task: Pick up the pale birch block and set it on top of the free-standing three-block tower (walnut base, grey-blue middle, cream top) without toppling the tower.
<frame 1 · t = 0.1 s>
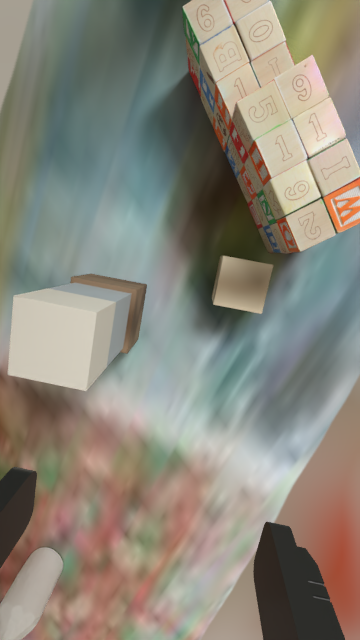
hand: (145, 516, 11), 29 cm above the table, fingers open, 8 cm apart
tower mid: (99, 315, 33), point 6 cm above the table, touching tower base, tower top
white bottle: (46, 561, 48), on the table
tower top: (77, 328, 28), point 12 cm above the table, touching tower mid
birch block: (236, 280, 38), on the table
tower base: (115, 306, 39), on the table, touching tower mid
stack of blocks: (254, 153, 35), on the table
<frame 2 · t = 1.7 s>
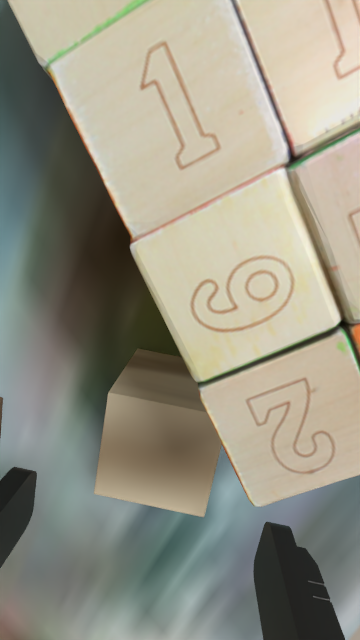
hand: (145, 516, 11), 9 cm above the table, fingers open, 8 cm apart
birch block: (171, 394, 19), on the table
stack of blocks: (193, 142, 16), on the table
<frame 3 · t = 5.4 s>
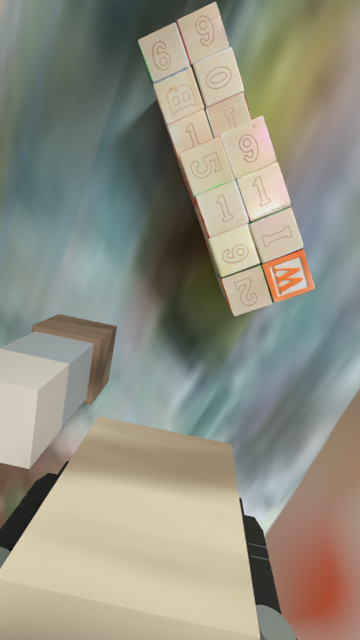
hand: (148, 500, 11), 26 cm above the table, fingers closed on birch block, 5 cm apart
tower mid: (61, 365, 32), point 6 cm above the table, touching tower base, tower top
tower top: (30, 389, 26), point 12 cm above the table, touching tower mid
birch block: (153, 487, 12), point 25 cm above the table, touching gripper
tower base: (84, 348, 38), on the table, touching tower mid
stack of blocks: (218, 192, 33), on the table
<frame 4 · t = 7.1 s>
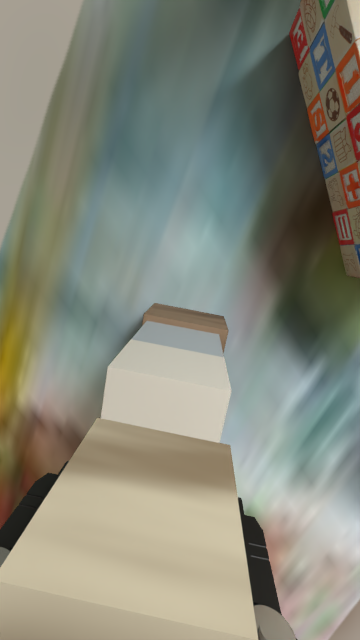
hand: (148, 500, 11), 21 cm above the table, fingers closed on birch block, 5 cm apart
tower mid: (176, 361, 26), point 6 cm above the table, touching tower base, tower top
tower top: (169, 391, 21), point 12 cm above the table, touching tower mid
birch block: (152, 488, 12), point 21 cm above the table, touching gripper
tower base: (182, 342, 32), on the table, touching tower mid
stack of blocks: (352, 151, 28), on the table
when the fingers open (19 cm above the table, at t = 8.1 s): birch block drops 1 cm, resting on tower top.
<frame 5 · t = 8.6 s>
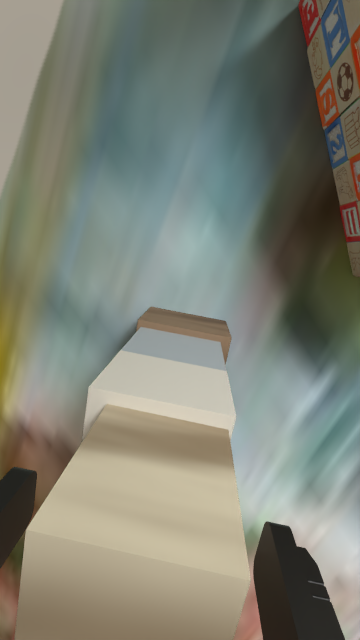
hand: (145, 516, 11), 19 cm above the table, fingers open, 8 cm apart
tower mid: (173, 372, 24), point 6 cm above the table, touching tower base, tower top
tower top: (164, 409, 18), point 12 cm above the table, touching birch block, tower mid
birch block: (156, 469, 13), point 17 cm above the table, touching tower top
tower base: (181, 349, 30), on the table, touching tower mid
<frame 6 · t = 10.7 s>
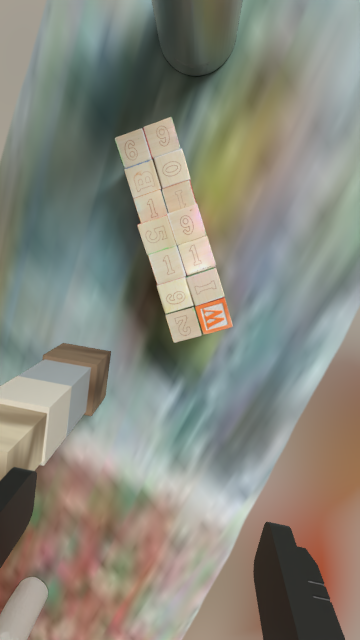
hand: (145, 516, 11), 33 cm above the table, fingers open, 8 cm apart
tower mid: (65, 385, 40), point 6 cm above the table, touching tower base
white bottle: (32, 589, 54), on the table
tower top: (42, 406, 34), point 12 cm above the table, touching birch block
birch block: (18, 432, 29), point 17 cm above the table, touching tower top
tower base: (84, 370, 46), on the table, touching tower mid
stack of blocks: (180, 239, 42), on the table
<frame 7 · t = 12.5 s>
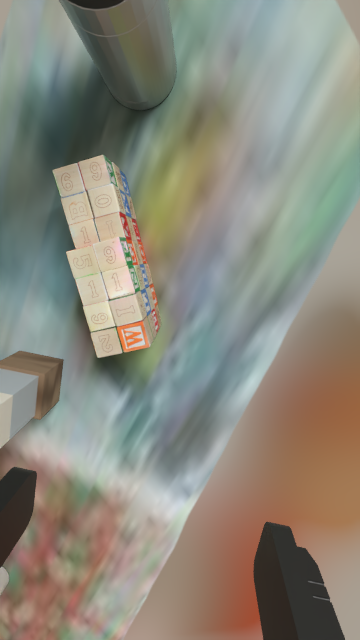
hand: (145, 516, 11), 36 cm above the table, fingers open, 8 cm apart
tower mid: (15, 391, 44), point 6 cm above the table, touching tower base, tower top
tower base: (39, 375, 50), on the table, touching tower mid
stack of blocks: (124, 257, 45), on the table
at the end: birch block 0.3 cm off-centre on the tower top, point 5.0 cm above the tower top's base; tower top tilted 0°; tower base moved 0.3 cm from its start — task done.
